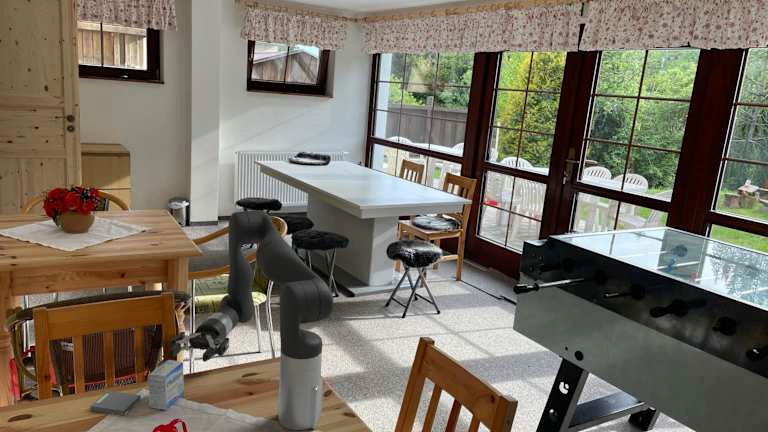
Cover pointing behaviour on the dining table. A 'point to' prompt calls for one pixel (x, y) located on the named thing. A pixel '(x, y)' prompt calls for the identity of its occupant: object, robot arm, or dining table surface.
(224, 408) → the dining table surface
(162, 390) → the medicine box
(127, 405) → the plate
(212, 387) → the dining table surface
